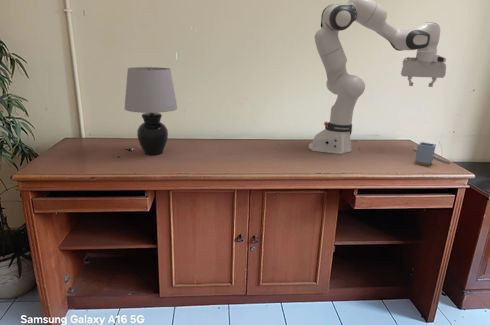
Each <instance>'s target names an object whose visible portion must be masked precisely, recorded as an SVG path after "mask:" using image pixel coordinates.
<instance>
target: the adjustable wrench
mask: <svg viewBox="0 0 490 325" xmlns="http://www.w3.org/2000/svg"><path fill="white" fill-rule="evenodd" d="M417 148H418V146H417V147H413V149H412V150H413V152H415V153H417ZM433 160H437V161H439V162H441V163H443V164H444V165H445V164H446V165H450V163H451V161H450V160H448V159H445V158H443V157H441V156H438V155H436V154H434V156H433Z"/></svg>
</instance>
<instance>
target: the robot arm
mask: <svg viewBox="0 0 490 325" xmlns="http://www.w3.org/2000/svg"><path fill="white" fill-rule="evenodd" d="M387 14H388V12H387V10H386V8H385V7H383V6H382V5H381V4H380V3H378V2H377V1H375V0H348V1H347V2H346V4H341V3H335V4H334V3H333V4H329V5H327V6H326V7H325V8H324V9H323V10H322V13H321V19H320V28H319V29H318V30H317V31H316V33H315V34H314V44H315V45H316V49H317V52H318V55H319V57H320V60H321V62H322V65H323V67H324V70H325V74H326V79H327V80H326V84H325V85H326V88H327V90H328V91H329V92H331V93H332V94H334V95H337V97H336V100H335V102H334V104H333V105H332V106H331V109H330V116H329V117H330V118H329V121H324V123H323V124H324V126H325V127H324V129H323V130H321V131H320V132H318V133H316V135H315V136H314V137H313V139H312V142H310V143H308V146H307V148H308V149H309V150H310V151H312V152H319V153H320V152H321V153H329V154H336V155H337V154H338V155H342V154H345V153H346V154H347V153H350V152H352V144H351V142H352V141H351V135H352V134H353V133H352V132H353V124H352V122H353V116H354V111H355V110H354V109H355V107H356V104H357V101H358V99H359V98H360V97H361V96H362V95H363V94H364V93H365V90H366V83H365V81H364V80H363V79H362V78H361V77H359V76H357V75H354V74H349V73H348V71H347V67H346V66H347V62H348V59H347V56H346V53H345V51H344V48H343V46H342V43H341V41H340V38H339V32H340V31H345V30H347V29H348V28H349V27H350V26H351V25H352V24H353V23H354V22H356V23H358V24H360V25H361V26H363V27H365V28H367V29H369V30H372V31H374V32H375V33H376V34H378V35H380V36H381V37H383V38H384V39H385V40H387V41H388V42H389V43H390V45H391V47H392V48H393V50H395V51H415V50H416V55H415V57H409V56H408V57H405V58H404V59H403V60H402V68H401V71H400V75H401V76H402V77H407V81H408V86H409V87H413V86H414V82H412V79H413V78H431V80H432V81H431V82H428V87H429V88H433V87H434V83H436V82H437V79H440V78H441V79H444V78H445V76H446V73H447V64H446V61H447V58H446V57H444V56H442V55H438V54H437V53H438V49H437V48H438V44H439V41H440V36H441V26H440V25H439V24H438V23H436V22H431V21H425V22H423V23H422V24H421V25H419V26H417V27H415V28H412V29H398V28H396V27H394V26H393V25H391V24H390V23H389V22H388V21H386V20H387V18H388V17H387V16H388V15H387Z"/></svg>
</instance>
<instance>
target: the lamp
mask: <svg viewBox="0 0 490 325" xmlns="http://www.w3.org/2000/svg"><path fill="white" fill-rule="evenodd" d="M171 70H172V69H171V68H170V67H160V66H159V67H156V66H155V67H152V66H150V67H149V66H142V67H141V66H139V67H138V66H136V67H135V66H133V67H127V72H126V73H127V75H126V87H125V98H124V99H125V100H124V110H125V111H127V112H130V113H131V112H132V113H139V114H140V113H141V118H142V120H143V123H141V124H140V125H139V126H138V128H137V140H138V143H139V145H140V147H141V150H143V153H144V155H146V156H150V157H151V156H153V157H155V156H160V155H162V154H163V153H164V149H165V148H166V145H167V142H168V139H169V138H168V137H169V131H168V128H167V127H166V125H165V124H164V123H162V122H161V119H162V117H163V115H162V113H167V112H168V113H169V112H173V111H177V110H178V103H177V99H176V98H177V97H176V93H175V88H174V86H175V85H174V82H173V76H172V71H171Z"/></svg>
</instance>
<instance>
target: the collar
mask: <svg viewBox="0 0 490 325" xmlns="http://www.w3.org/2000/svg"><path fill="white" fill-rule="evenodd" d="M436 145H437V144H434V143H430V142H424V141H420V142H419V143H418V144H417V147H418V148H417V147H416V149H417V152H415V153H416V154H415V160H414V161H418V162H423V163H429V164H430V163H431V162H433V160H434V158H433V156H434V155H435V151H436ZM431 164H432V163H431Z"/></svg>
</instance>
